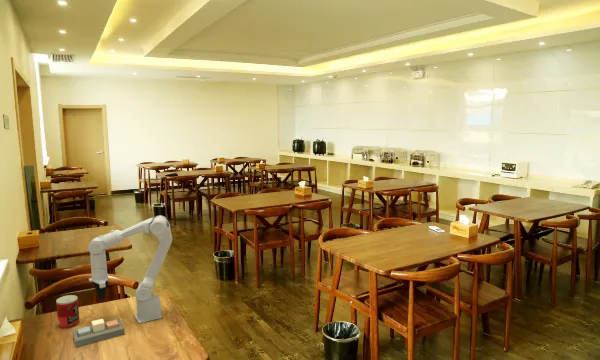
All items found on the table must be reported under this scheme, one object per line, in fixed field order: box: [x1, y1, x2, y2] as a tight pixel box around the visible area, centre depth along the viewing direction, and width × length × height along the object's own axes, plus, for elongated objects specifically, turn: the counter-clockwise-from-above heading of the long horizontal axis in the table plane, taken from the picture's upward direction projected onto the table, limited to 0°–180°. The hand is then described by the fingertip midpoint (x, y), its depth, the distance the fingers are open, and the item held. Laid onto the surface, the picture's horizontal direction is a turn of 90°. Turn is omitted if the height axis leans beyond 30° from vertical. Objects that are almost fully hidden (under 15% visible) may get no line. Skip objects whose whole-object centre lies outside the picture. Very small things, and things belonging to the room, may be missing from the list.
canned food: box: [55, 294, 81, 329], centre depth 170 cm, size 8×8×11 cm
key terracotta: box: [105, 319, 119, 330], centre depth 164 cm, size 4×4×3 cm
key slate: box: [77, 325, 91, 337], centre depth 159 cm, size 4×4×3 cm
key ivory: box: [91, 318, 105, 333], centre depth 161 cm, size 4×4×3 cm
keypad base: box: [72, 317, 125, 348], centre depth 161 cm, size 17×10×2 cm, turn 123°
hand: (101, 298), depth 170 cm, fingers closed
